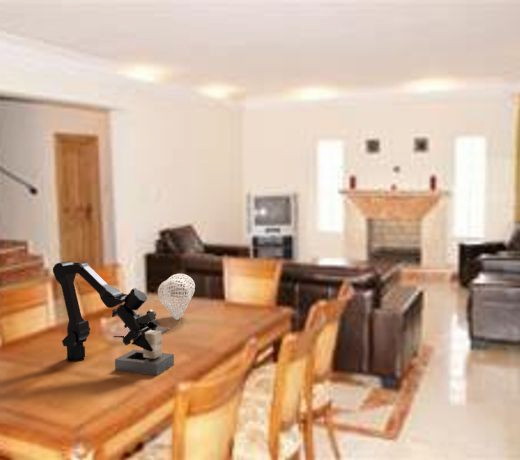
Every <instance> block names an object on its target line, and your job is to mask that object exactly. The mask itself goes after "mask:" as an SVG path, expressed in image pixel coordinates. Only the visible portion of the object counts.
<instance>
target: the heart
mask: <svg viewBox="0 0 520 460" xmlns="http://www.w3.org/2000/svg"><path fill="white" fill-rule="evenodd" d="M195 288H196V284H195V280H193V278H192V277H191V276H189V275H187V274H186V273H176V274H172V275H170V277H168V278H167V279H166V280H164V281H162V282H161V284H159V287H158V289H157V296H158V299H159V301H160V303H161V304H162V305H163V307H164V308H165V309H166V310H167V311H168V313H169V314H170V315H171V317H172V318H173V319H174V320H177V321H178V320H180V319H181V318H182V316H183V315H184V314H185V311H186V309H187V307H188V305H189V304H190V302H191V299H192V298H193V296H194V293H195V291H196V290H195Z"/></svg>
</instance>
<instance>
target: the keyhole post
mask: <svg viewBox="0 0 520 460" xmlns="http://www.w3.org/2000/svg"><path fill="white" fill-rule="evenodd" d="M162 336H163V334H162V331H154V330H149V331H147V332H145V339H146V340H147V341H148V343H149V344H150V346H151V347H152V349H153V351H152V352H150V351H148V350H146V349H144V348H142V351H143V357H146V358H149V359H154V360H155V359H156V358H157V357H159V356H161V355H162V353H163V352H162V351H163V350H162V349H163V348H162V346H163V345H162V343H163V342H162V340H163V339H162Z"/></svg>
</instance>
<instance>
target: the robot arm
mask: <svg viewBox="0 0 520 460" xmlns="http://www.w3.org/2000/svg"><path fill="white" fill-rule="evenodd" d="M52 273H53V276H54V277H55V281H56V282H57V283H59V285H60V287H61V291H62V295H63V301H64V303H65V308H66V312H67V313H66V314H67V317H68V323H67V328H66V333H67V335H66V336H65V337H64V338H63V340H62V341H61V342H62V345H63V346H64V347H66V362H78V361H84V360H85V357H86V346H85V345H84V343H85V342H87V339H88V337H90V334H91V333H90V332H91V328H90V323H89V320H84V319H83V317H82V313H81V309H80V304H79V301H78V294H77V292H76V291H77V290H76V286H75V279H76V274H78V275H80V277H81V278H83V279H84V280H85V281H86V283H88V285H89V286H90V287H92V288H93V289H94V290H95V291H96V292H97V293H98V295H99V298H100V300H101V301H102V303H103V304H104V306H105V307H106V308H109V309H110V308H112V310H111V311H112V314H111V317H112V318H115V317H118V318H119V319H120V320H121V321H122V323H123V324H124V325H123V328H124V329H125V328H127V327H128V328H129V330H130V331H129V332H128V334H127V335H126V336H125V337H122V343H123V344H124V346H128V345H130V344H131V345H132V346H133V345H134V346H137V347H139V348H142V349H143V348H144V349H146V350H148V351H150V352H152V351H153V349H152V347H151V346H150V344H149V343H148V341H147V340H146V339H145V332H147V331H149V330H154V331H156V328H157V327H159V325H160V321H158V320H157V318H156V316H157V312H155V311H154V309H149V310H147V311H146V313H145V314H144V315H142V314H141V313H137V312H136V311H138V310H139V309H141V307H142V306H143V304H145V303H146V302H147V301H148V296H147V294H146V293H145V292H143V291H141V290H139V289H137V288H136V287H134V288H132V289H131V290H130V291H129V293H128V294H126V293H123V292H122V291H121V290H119V289H118V288H117V287H114V286H112V285H110V284H108V283H107V281H106V280H104V279H103V278H102V277H101V276H100V275H99V274H98V273H97V272H96V271H95V270H94V269H93V268H92V267H91V266H90V265H89V263H88V262H86V261H82V262H72V261H70V260H66V261H61V262H57V263H56V264H54V266H53V267H52ZM115 307H117V308H115ZM113 308H114V309H113ZM131 341H132V342H131Z"/></svg>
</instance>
